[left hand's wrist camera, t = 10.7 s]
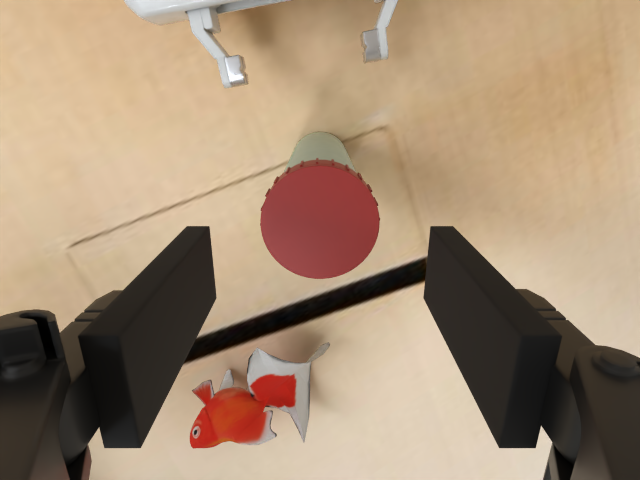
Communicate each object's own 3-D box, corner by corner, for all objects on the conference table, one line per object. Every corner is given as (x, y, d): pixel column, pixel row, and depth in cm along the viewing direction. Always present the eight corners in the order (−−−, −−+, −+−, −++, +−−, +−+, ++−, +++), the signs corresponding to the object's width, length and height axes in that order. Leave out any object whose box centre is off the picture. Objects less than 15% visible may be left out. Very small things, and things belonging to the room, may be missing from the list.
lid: (398, 200, 19) (405, 210, 18) (332, 284, 21) (333, 300, 19) (305, 134, 18) (303, 138, 17) (243, 227, 20) (236, 239, 18)
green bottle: (358, 153, 35) (394, 209, 18) (326, 197, 37) (332, 288, 20) (312, 120, 34) (306, 146, 17) (281, 167, 36) (246, 234, 19)
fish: (148, 359, 37) (172, 456, 30) (299, 285, 42) (351, 353, 34) (187, 418, 44) (215, 508, 36) (313, 348, 48) (360, 416, 41)
